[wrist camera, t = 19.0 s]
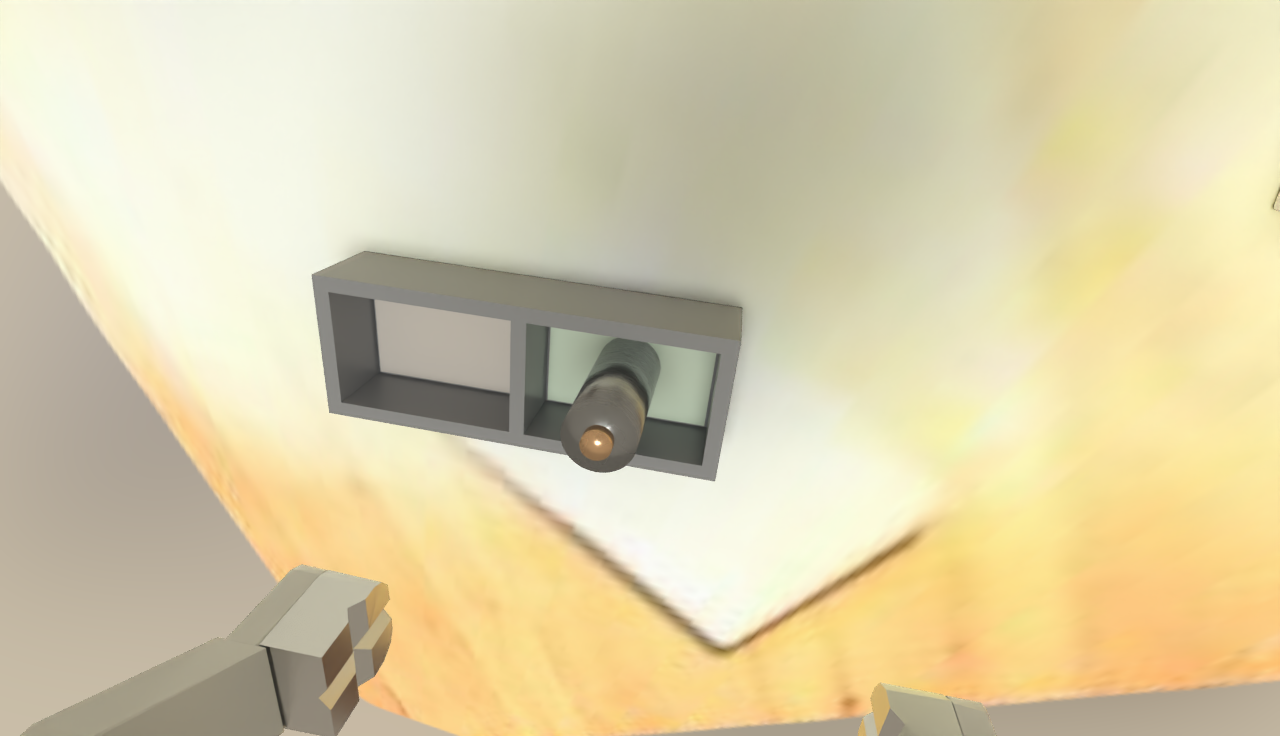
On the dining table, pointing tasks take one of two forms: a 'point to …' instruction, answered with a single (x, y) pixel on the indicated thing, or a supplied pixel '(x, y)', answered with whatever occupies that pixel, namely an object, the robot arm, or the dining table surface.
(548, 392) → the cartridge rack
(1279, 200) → the ink cartridge box
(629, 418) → the metal cell
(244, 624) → the robot arm
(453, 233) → the dining table surface
